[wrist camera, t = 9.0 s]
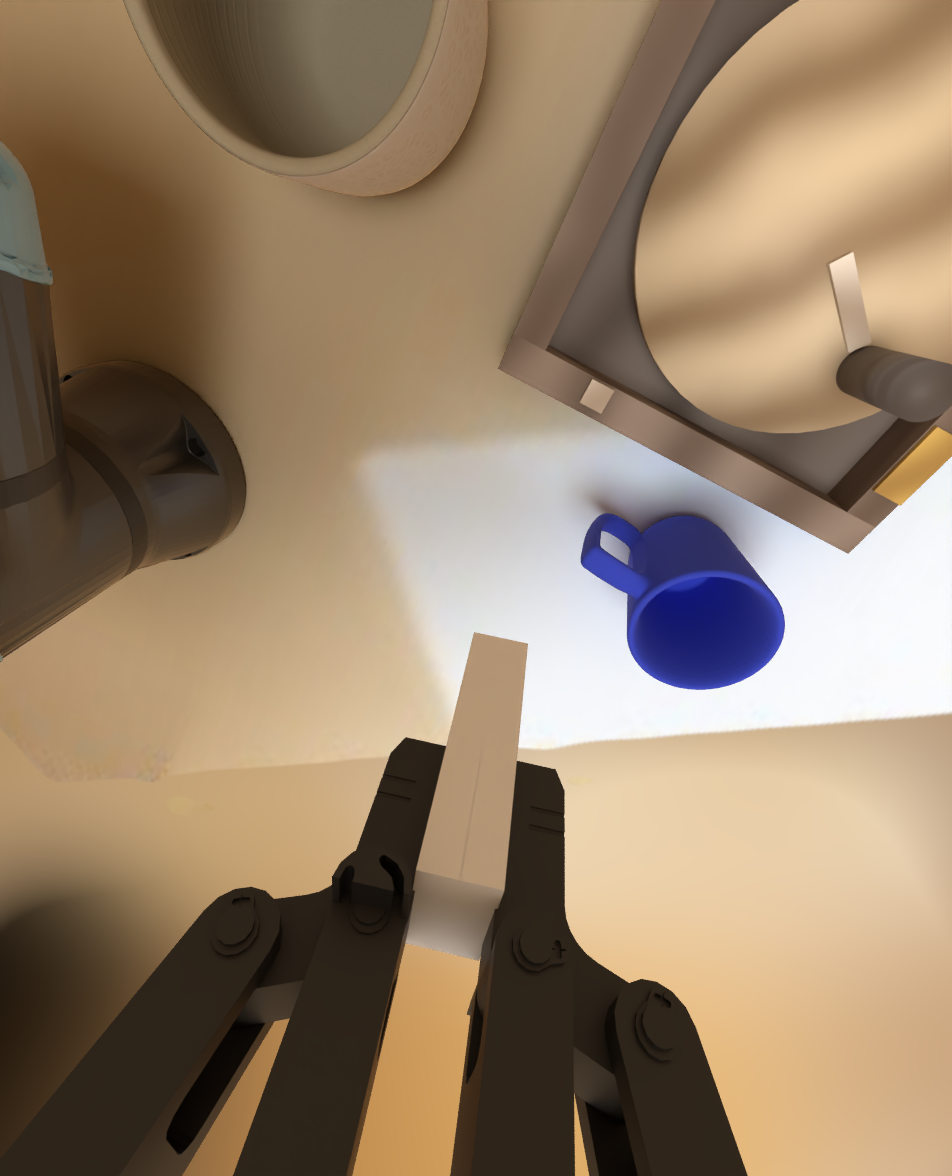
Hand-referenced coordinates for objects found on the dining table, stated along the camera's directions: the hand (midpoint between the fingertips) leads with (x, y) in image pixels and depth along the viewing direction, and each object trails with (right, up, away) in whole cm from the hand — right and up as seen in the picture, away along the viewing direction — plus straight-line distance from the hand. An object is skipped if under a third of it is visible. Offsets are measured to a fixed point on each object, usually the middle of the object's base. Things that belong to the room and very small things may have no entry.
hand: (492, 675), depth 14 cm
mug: (+12, +6, +22) cm, 26 cm away
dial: (+17, +20, +12) cm, 29 cm away
